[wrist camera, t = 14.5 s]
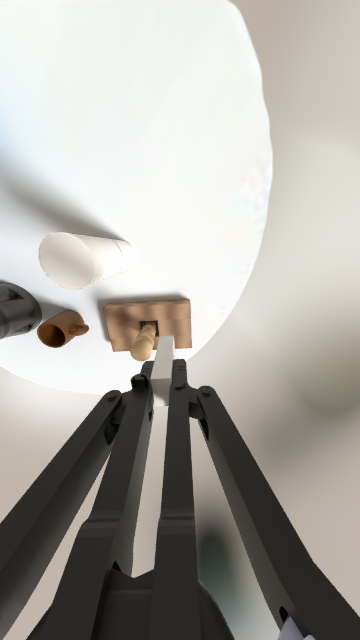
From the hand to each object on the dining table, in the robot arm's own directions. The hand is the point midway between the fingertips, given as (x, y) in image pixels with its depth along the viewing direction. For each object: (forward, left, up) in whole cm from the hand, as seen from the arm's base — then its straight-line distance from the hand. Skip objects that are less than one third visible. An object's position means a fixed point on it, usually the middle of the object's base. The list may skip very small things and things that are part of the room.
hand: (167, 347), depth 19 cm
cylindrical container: (-13, +9, -33) cm, 36 cm away
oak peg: (-8, -11, -32) cm, 35 cm away
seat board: (-8, -11, -32) cm, 35 cm away
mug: (-30, -9, -33) cm, 45 cm away
